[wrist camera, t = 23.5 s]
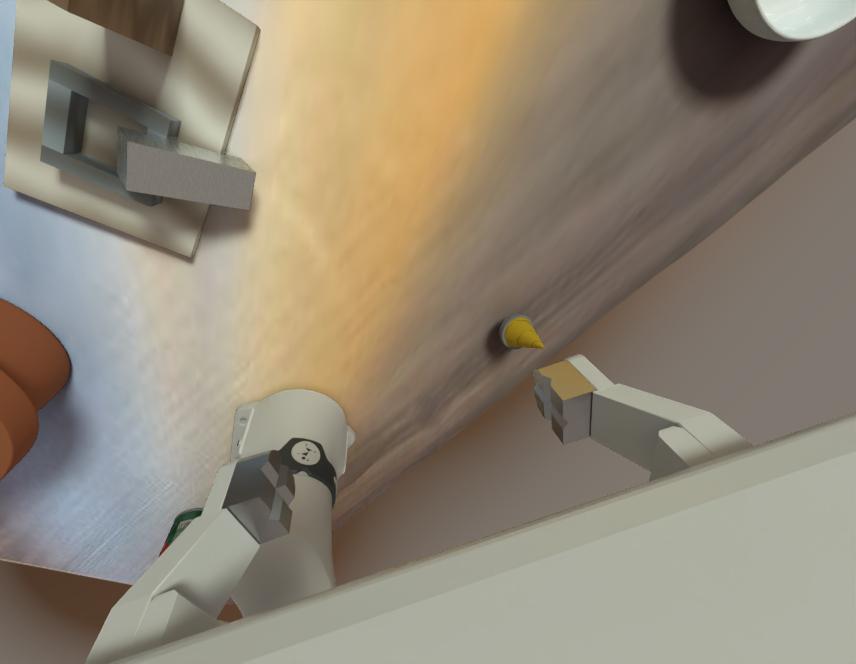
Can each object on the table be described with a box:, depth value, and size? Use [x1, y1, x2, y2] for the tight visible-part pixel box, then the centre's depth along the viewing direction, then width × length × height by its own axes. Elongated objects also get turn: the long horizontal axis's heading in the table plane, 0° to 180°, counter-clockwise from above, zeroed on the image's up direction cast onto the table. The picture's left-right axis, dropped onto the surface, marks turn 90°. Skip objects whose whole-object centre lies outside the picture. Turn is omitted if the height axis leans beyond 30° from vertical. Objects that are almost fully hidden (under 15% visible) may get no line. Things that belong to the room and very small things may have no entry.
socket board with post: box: [4, 0, 260, 257], centre depth 27 cm, size 24×16×16 cm, turn 150°
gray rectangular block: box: [117, 126, 256, 210], centre depth 33 cm, size 4×4×10 cm
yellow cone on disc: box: [499, 313, 544, 349], centre depth 51 cm, size 5×5×10 cm
